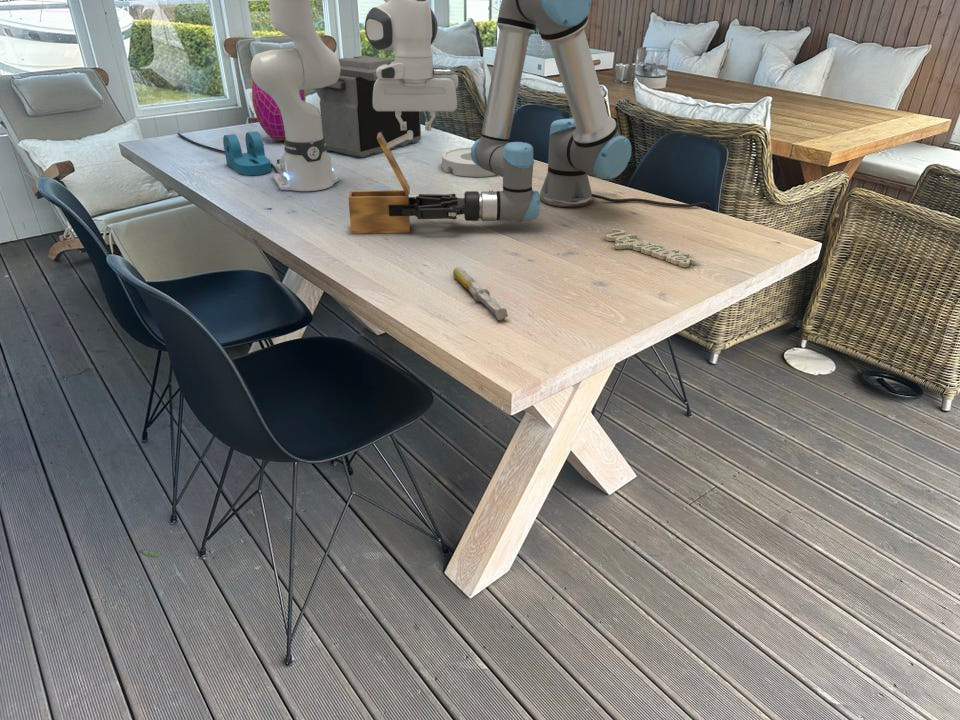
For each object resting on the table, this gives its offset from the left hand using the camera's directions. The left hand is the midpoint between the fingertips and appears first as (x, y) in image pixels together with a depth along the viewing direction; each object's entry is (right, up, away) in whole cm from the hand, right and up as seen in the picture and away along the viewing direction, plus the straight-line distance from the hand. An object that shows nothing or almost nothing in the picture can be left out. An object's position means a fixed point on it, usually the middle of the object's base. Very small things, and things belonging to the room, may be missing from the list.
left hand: (416, 130), depth 168 cm
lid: (-6, -7, +4) cm, 10 cm away
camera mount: (-61, +8, +61) cm, 87 cm away
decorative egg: (-60, +29, +97) cm, 117 cm away
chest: (-10, -22, +12) cm, 27 cm away
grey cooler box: (-25, +24, +90) cm, 97 cm away
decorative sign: (+56, -29, +1) cm, 64 cm away
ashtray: (+14, +9, +66) cm, 68 cm away
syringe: (+15, -43, -23) cm, 51 cm away
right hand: (-8, -17, +9) cm, 20 cm away
